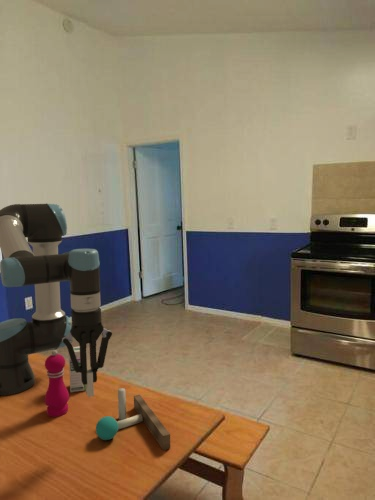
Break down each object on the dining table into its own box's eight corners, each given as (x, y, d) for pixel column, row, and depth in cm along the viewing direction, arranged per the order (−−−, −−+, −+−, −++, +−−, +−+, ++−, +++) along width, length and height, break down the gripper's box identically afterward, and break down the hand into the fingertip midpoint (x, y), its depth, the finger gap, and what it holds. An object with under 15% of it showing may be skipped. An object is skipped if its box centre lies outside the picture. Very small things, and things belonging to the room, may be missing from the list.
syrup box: (70, 392, 133) (68, 352, 132) (71, 385, 139) (69, 346, 137) (87, 390, 135) (85, 350, 133) (87, 383, 140) (85, 344, 139)
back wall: (134, 407, 123) (133, 396, 123) (140, 406, 124) (139, 394, 123) (163, 450, 102) (163, 436, 101) (170, 448, 103) (170, 434, 102)
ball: (94, 414, 109) (116, 410, 110) (96, 433, 109) (117, 429, 111) (95, 426, 103) (118, 421, 104) (97, 446, 104) (119, 442, 105)
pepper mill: (62, 419, 117) (59, 355, 115) (40, 416, 119) (37, 353, 116) (73, 406, 124) (71, 346, 122) (53, 404, 126) (50, 345, 123)
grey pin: (117, 417, 118) (117, 389, 117) (124, 415, 119) (124, 387, 118) (120, 420, 116) (119, 392, 115) (127, 418, 117) (126, 390, 116)
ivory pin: (113, 433, 110) (142, 423, 115) (114, 427, 109) (143, 417, 114) (110, 427, 112) (139, 417, 117) (111, 421, 111) (140, 412, 116)
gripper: (62, 315, 95) (67, 406, 97) (114, 308, 100) (117, 394, 103) (57, 308, 101) (62, 393, 104) (107, 302, 107) (110, 383, 110)
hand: (89, 394), depth 104 cm, fingers closed
